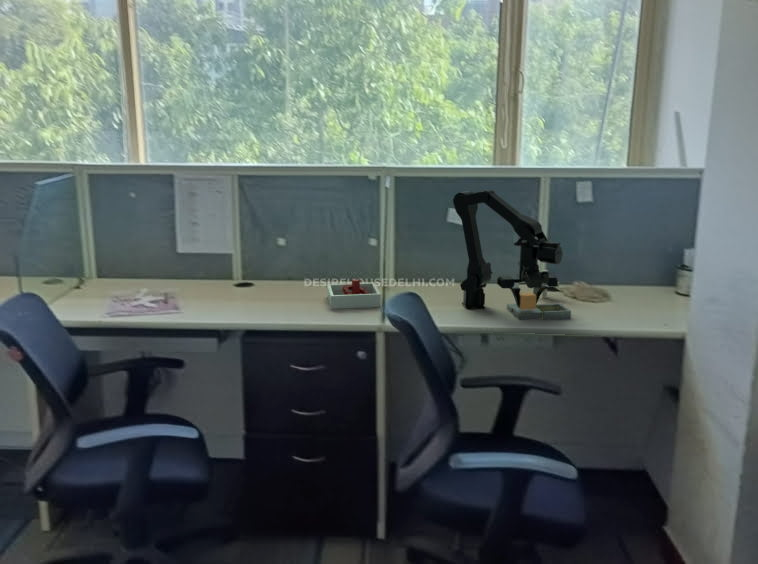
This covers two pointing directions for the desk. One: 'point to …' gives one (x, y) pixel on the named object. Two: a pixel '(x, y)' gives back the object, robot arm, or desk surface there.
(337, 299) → the gear corral
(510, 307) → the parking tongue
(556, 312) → the sliding lid box
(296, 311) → the desk surface
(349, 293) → the red branched piece
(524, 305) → the block
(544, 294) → the pipe connector
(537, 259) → the robot arm
